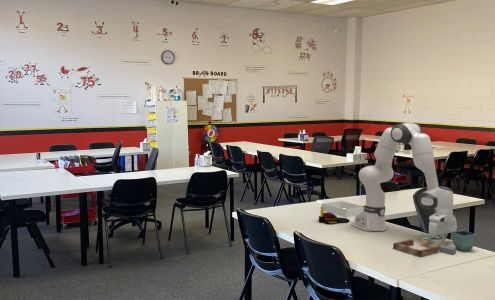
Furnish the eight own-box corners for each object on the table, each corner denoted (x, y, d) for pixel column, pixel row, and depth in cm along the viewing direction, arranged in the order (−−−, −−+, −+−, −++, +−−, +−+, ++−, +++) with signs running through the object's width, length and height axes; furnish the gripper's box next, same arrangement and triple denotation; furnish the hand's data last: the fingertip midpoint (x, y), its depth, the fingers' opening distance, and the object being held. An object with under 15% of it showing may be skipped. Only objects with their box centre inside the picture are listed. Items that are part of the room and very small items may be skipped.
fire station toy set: (314, 221, 316) (315, 204, 315) (342, 219, 322) (342, 203, 321) (324, 226, 302) (325, 209, 301) (353, 224, 308) (353, 207, 307)
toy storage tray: (321, 211, 344) (321, 203, 343) (341, 208, 354) (341, 200, 354) (346, 218, 323) (346, 209, 322) (366, 215, 333) (366, 206, 333)
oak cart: (420, 246, 261) (420, 238, 260) (427, 243, 266) (427, 235, 266) (438, 250, 253) (438, 242, 253) (445, 247, 259) (445, 239, 259)
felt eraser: (439, 252, 250) (439, 246, 250) (442, 251, 253) (442, 245, 253) (452, 255, 245) (452, 249, 245) (455, 254, 248) (456, 248, 248)
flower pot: (461, 252, 249) (462, 235, 248) (450, 247, 258) (451, 231, 257) (476, 251, 252) (476, 234, 251) (464, 246, 260) (465, 230, 259)
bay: (393, 248, 255) (393, 243, 255) (411, 244, 263) (411, 239, 263) (420, 257, 241) (420, 251, 241) (438, 252, 249) (438, 247, 249)
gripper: (450, 213, 271) (449, 237, 273) (427, 217, 260) (425, 242, 261) (460, 215, 266) (459, 240, 267) (437, 219, 255) (436, 245, 256)
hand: (442, 241), depth 264 cm, fingers closed
